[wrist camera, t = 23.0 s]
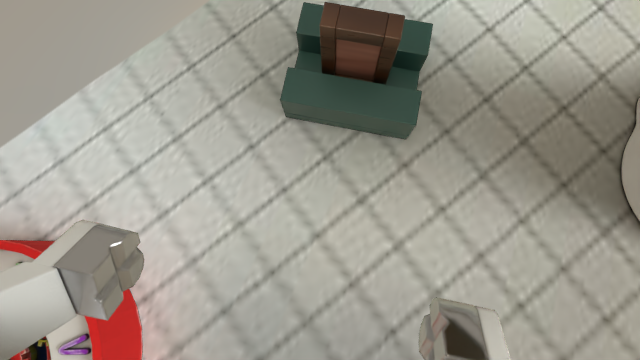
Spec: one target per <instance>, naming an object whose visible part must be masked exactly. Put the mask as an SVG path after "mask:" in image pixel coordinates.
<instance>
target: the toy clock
mask: <svg viewBox="0 0 640 360" xmlns="http://www.w3.org/2000/svg"><path fill="white" fill-rule="evenodd" d="M54 242H55V241H21V240H0V271H3V270H5V269H8V268H10V267H13V266H15V265H18V264H21V263H23V262H26V261H28V262H33V261H34V260H35V259H36V258H37V257H38V256H39V255H40V254H42V253H43V252H44V251H45V250H46V249H47V248H48V247H49V246H50V245H52V244H53V243H54ZM76 315H77V316H76V317H75V318H73V319H72V320H70V321H68V322H67V323H65V324H64V325H62V326H61V327H59V328H57V329H56V330H54V331H53V332H51V333H49V334H48V335H46V336H45V337H43V338H41V339H40V340H38V341H37V342H35V343H34V344H32V345H30V346H29V347H27V348H26V349H24V350H22V351H21V352H19V353H18V354H16V355H15V356H13V357H11V358H10V359H8V360H141V359H142V350H143V342H142V326H141V322H140V317H139V313H138V309H137V306H136V303H135V301H134V299H133V296H132V294H131V292H130V290H129V289H127V290H125V291H123V301H122V302H121V304H120V305H119V306H118V308H117V309H116V310H115V312H114V313H113V314H112V316H111V317H110V318H109V320H108V321H107V320H102V319H97V318H93V317H88V316H83V315H78V314H76Z"/></svg>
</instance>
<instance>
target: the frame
mask: <svg viewBox="0 0 640 360" xmlns="http://www.w3.org/2000/svg"><path fill="white" fill-rule="evenodd" d="M404 20H405V16H404V15H398V14H392V13H387V12H381V11H375V10H369V9H363V8H357V7H351V6H345V5H340V4H334V3H328V2H325V4H324V8H323V12H322V17H321V21H320V25H319V26H320V46H321V66H322V73H323V74H329V75H334V76H340V77H346V78H351V79H357V80H362V81H368V82H373V83H379V84H384V85H386V82H387V79H388V76H389V73H390V70H391V67H392V64H393V62H394V59H395V56H396V53H397V50H398V47H399V44H400V41H401V37H402V31H403V26H404Z"/></svg>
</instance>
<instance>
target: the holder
mask: <svg viewBox="0 0 640 360" xmlns="http://www.w3.org/2000/svg"><path fill="white" fill-rule="evenodd" d="M323 8H324V6H323V5H317V4H311V3H305V2H304V3H303V7H302V11H301V15H300V19H299V24H298V28H297V32H296V34H297V40H298V46H299V53H298V57H297V61H296V66H295V68H290V67H288V69H287V73H286V78H285V82H284V86H283V90H282V94H281V98H280V101H281V104H282V107H283V110H284V112H285V115H286V117H290V118H295V119H301V120H306V121H311V122H317V123H322V124H327V125H333V126H338V127H343V128H348V129H354V130H359V131H364V132H370V133H375V134H380V135H386V136H391V137H396V138H401V139H407V137H408V136H409V135H410V133H411V132H412V130H413V129H414V127H415V126H416V123H417V117H418V111H419V105H420V99H421V93H422V91H418V90H417V84H418V78H419V72H420V70H421V68H422V66H423V64H424V62H425V60H426V58H427V56H428V51H429V45H430V39H431V33H432V27H433V24H431V23H425V22H419V21H413V20H407V19H405V20H404V26H403V31H402V37H401V41H400V44H399V47H398V50H397V53H396V56H395V59H394V62H393V64H392V67H391V70H390V73H389V76H388V79H387V82H386V85H384V84H379V83H373V82H368V81H362V80H357V79H351V78H346V77H340V76H334V75H329V74H323V73H322V66H321V46H320V26H319V25H320V21H321V17H322V12H323Z"/></svg>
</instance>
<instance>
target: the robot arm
mask: <svg viewBox="0 0 640 360" xmlns="http://www.w3.org/2000/svg"><path fill="white" fill-rule="evenodd" d="M622 181H623V187H624V191H625V194H626V197H627V199H628V202H629V204H630V206H631V208H632V210H633V212H634V213H635V215H636V216H637V218H638V219H639V221H640V97H639V99H638V102H637V109H636V126H635V129H634V131H633V133H632V135H631V137H630V139H629V141H628V143H627V145H626V147H625V150H624V154H623V159H622ZM139 243H140V239H139V235H138V233H135V232H132V231H128V230H124V229H120V228H116V227H112V226H108V225H104V224H99V223H95V222H90V221H86V220H81V221H79V222H76V223H75V224H74V225H73V226H72V227H70V228H69V229H68V230H67V231H66V232H65V233H64V234H63V235H62V236H60V237H59V238H58V239H57V240H56V241H55V242H54V243H53V244H52V245H50V246H49V247H48V248H47V249H46V250H45V251H44V252H43V253H42V254H40V255H39V256H38V257H37V258H36V259H35V260H34V261H33V262H28V261H26V262H23V263H21V264H18V265H15V266H13V267H10V268H8V269H5V270H3V271H0V360H8V359H10V358H11V357H13V356H15V355H16V354H18V353H19V352H21V351H22V350H24V349H26V348H27V347H29V346H30V345H32V344H34V343H35V342H37V341H38V340H40V339H41V338H43V337H45V336H46V335H48V334H49V333H51V332H53V331H54V330H56V329H57V328H59V327H61V326H62V325H64V324H65V323H67V322H68V321H70V320H72V319H73V318H75V317H76V316H77V315H76V314H78V315H83V316H88V317H93V318H97V319H102V320H107V321H108V320H109V318H110V317H111V316H112V314H113V313H114V312H115V310H116V309H117V308H118V306H119V305H120V304H121V302H122V301H123V291H125V290H127V289H129V288H131V287H133V286H134V285H135V283H136V282H137V280H138V279H139V277H140V275H141V272H142V270H143V266H144V257H143V253H142V252H141V251H140V250H139V249H138V248H137V246H138V244H139ZM419 352H420V354H421V355H422V357H423V358H424V360H511V358H510V355H509V351H508V348H507V344H506V341H505V337H504V334H503V330H502V327H501V323H500V320H499V316H498V314H497V312H496V311H495V310H492V309H487V308H483V307H478V306H473V305H470V304H465V303H460V302H456V301H451V300H446V299H441V298H434V299H433V300H432V302H431V304H430V314H428V315H426V316H424V319H423V321H422V323H421V327H420V332H419Z"/></svg>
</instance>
